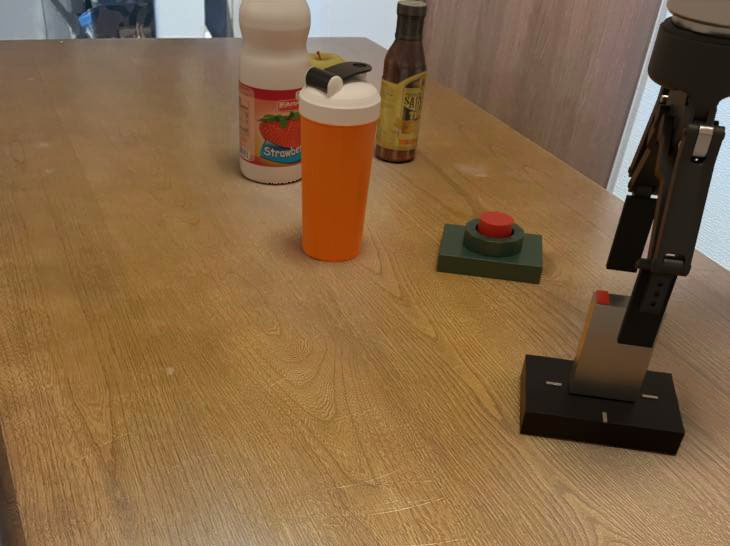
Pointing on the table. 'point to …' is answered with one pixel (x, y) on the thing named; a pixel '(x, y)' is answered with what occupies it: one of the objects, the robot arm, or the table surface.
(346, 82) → the shaker bottle
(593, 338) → the grey tall block
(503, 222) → the button
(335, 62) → the apple
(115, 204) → the table surface
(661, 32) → the robot arm
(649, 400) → the panel
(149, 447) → the table surface
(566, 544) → the table surface
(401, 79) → the sauce bottle
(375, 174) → the table surface
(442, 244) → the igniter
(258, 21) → the fruit juice
